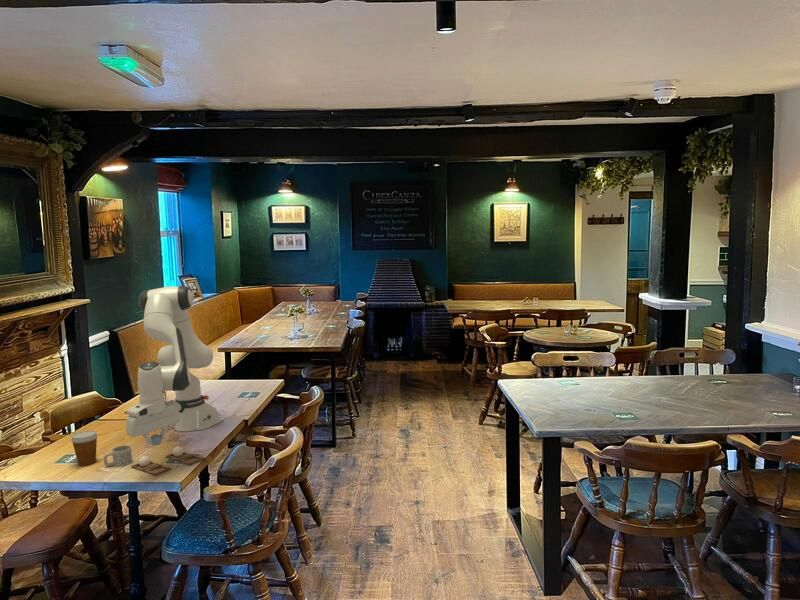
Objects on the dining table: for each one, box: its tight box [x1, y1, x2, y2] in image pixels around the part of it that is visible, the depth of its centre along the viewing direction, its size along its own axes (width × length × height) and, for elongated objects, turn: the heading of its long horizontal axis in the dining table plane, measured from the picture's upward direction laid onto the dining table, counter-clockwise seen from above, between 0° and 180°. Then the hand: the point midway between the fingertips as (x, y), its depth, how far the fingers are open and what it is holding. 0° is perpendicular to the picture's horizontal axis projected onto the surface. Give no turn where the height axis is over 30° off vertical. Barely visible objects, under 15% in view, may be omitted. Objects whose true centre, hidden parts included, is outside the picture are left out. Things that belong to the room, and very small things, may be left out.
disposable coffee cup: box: [70, 429, 99, 467], centre depth 237 cm, size 10×10×12 cm
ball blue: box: [150, 433, 162, 446], centre depth 224 cm, size 4×4×4 cm
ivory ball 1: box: [138, 455, 151, 467], centre depth 230 cm, size 4×4×4 cm
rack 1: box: [130, 460, 173, 477], centre depth 228 cm, size 16×7×1 cm, turn 56°
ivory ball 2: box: [172, 446, 184, 457], centre depth 239 cm, size 4×4×4 cm
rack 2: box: [165, 450, 206, 466], centre depth 237 cm, size 16×7×1 cm, turn 56°
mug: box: [103, 445, 133, 467], centre depth 234 cm, size 10×7×7 cm, turn 127°
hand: (155, 441), depth 224 cm, fingers closed on ball blue, 4 cm apart
